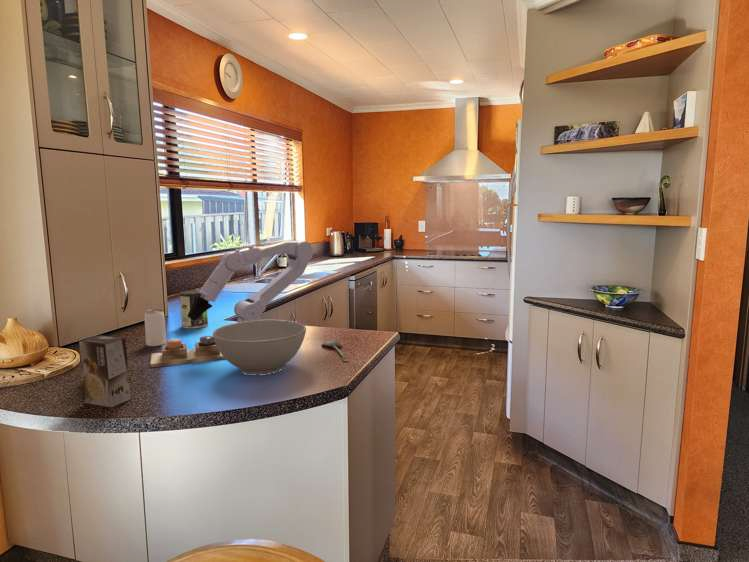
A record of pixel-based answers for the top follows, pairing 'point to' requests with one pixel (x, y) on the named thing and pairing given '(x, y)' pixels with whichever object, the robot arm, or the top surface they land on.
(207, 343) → the grey plunger
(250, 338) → the decorative bowl
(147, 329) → the can
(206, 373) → the top surface
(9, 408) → the top surface
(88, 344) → the coffee box
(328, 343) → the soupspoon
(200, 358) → the console
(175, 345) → the orange block
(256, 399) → the top surface
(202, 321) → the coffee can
